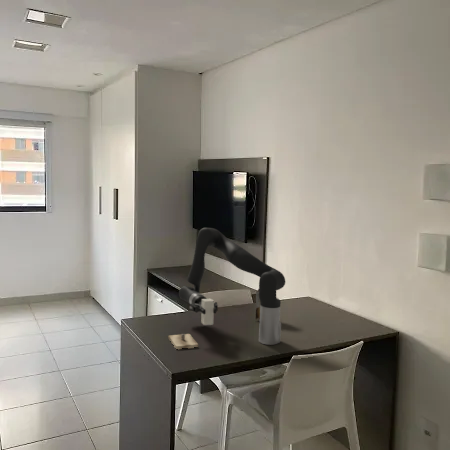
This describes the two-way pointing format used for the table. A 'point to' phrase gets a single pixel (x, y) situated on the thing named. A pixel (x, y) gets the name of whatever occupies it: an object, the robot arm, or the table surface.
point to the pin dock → (182, 341)
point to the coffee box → (257, 306)
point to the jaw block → (207, 312)
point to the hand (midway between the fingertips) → (210, 311)
